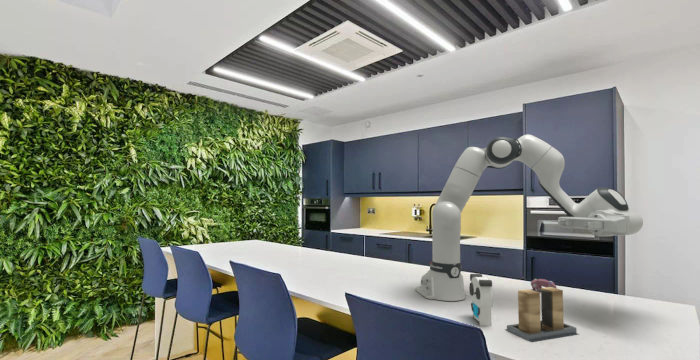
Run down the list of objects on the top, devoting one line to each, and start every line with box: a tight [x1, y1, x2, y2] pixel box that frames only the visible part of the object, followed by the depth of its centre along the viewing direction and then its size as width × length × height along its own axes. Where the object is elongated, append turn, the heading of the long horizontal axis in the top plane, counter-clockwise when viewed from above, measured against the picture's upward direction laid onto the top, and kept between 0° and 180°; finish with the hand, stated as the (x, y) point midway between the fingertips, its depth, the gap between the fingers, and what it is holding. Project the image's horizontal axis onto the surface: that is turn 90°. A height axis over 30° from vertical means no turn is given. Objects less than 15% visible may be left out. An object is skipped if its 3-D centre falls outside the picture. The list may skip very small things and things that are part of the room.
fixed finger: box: [517, 288, 541, 333], centre depth 102 cm, size 4×4×12 cm
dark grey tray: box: [504, 320, 580, 343], centre depth 103 cm, size 10×18×2 cm, turn 110°
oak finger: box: [540, 287, 565, 331], centre depth 105 cm, size 4×4×12 cm
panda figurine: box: [469, 273, 494, 327], centre depth 112 cm, size 12×11×15 cm
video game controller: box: [530, 278, 558, 293], centre depth 152 cm, size 10×5×7 cm, turn 49°
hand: (573, 223), depth 115 cm, fingers open, 8 cm apart
